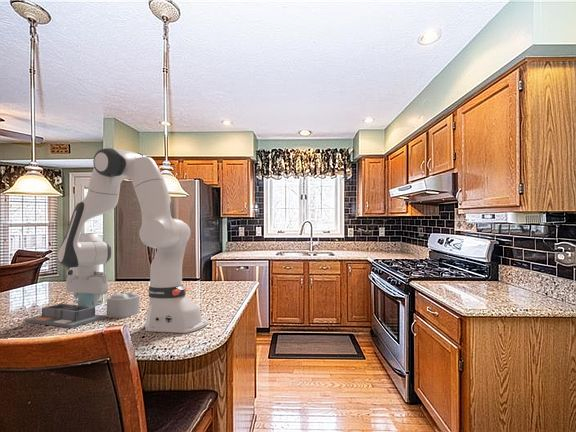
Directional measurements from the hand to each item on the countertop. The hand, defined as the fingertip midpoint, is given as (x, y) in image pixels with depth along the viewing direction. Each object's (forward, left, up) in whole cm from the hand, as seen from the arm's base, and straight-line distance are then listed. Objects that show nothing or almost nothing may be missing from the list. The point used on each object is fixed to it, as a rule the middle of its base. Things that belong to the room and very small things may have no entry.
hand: (86, 303), depth 145 cm
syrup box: (+9, -11, -3) cm, 15 cm away
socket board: (-5, +13, -3) cm, 14 cm away
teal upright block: (0, 0, -3) cm, 3 cm away
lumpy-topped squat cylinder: (-18, -3, -3) cm, 19 cm away
